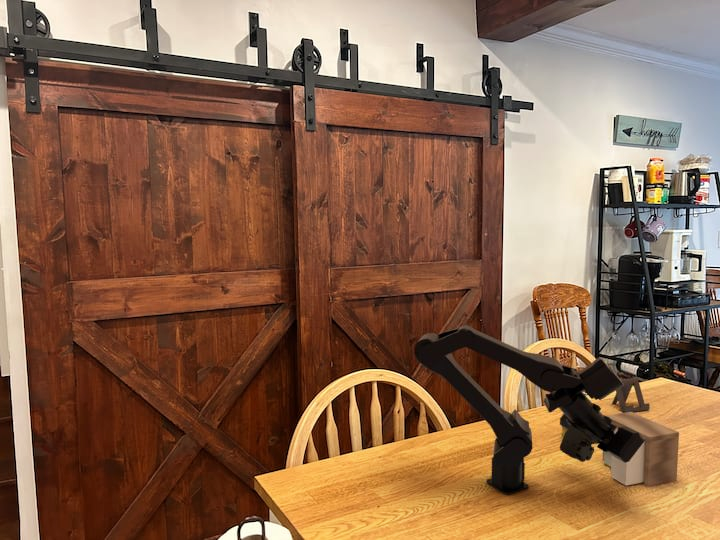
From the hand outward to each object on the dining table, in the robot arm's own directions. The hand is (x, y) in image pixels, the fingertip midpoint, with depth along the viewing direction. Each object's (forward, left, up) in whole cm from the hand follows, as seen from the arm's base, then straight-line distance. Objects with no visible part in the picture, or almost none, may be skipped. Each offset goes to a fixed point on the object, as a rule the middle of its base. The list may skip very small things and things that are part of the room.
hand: (620, 453), depth 113 cm
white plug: (+6, -1, -6) cm, 9 cm away
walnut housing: (+9, +2, -7) cm, 12 cm away
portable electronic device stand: (+43, +29, -7) cm, 53 cm away
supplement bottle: (+10, +21, -7) cm, 24 cm away
